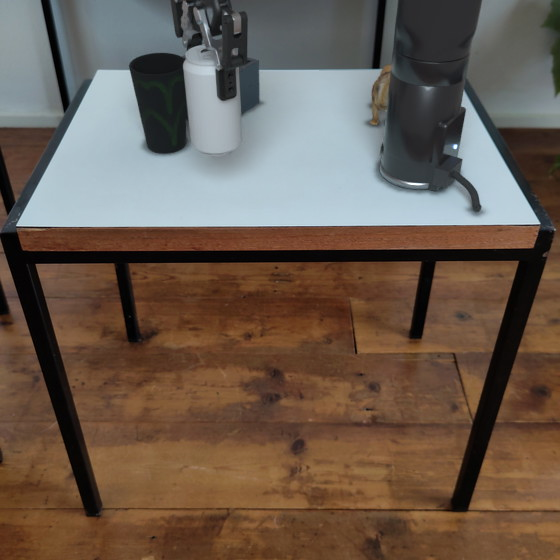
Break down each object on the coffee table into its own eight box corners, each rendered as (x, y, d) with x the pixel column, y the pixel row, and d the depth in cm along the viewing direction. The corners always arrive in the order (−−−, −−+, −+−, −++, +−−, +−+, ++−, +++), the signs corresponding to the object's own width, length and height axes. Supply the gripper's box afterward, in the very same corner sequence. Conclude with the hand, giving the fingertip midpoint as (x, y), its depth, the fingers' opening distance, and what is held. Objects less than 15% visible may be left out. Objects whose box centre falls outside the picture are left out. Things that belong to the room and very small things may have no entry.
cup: (129, 151, 102) (117, 70, 95) (155, 128, 108) (145, 49, 100) (178, 161, 100) (170, 78, 93) (202, 136, 106) (196, 56, 98)
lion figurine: (406, 137, 106) (413, 78, 100) (369, 136, 106) (374, 77, 101) (399, 94, 117) (406, 39, 112) (366, 93, 118) (371, 38, 112)
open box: (259, 103, 115) (259, 60, 110) (217, 128, 108) (215, 84, 104) (207, 86, 119) (204, 45, 115) (164, 110, 113) (159, 67, 108)
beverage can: (245, 134, 92) (241, 42, 85) (239, 160, 87) (233, 63, 80) (196, 133, 93) (187, 41, 85) (186, 158, 88) (176, 62, 80)
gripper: (269, -56, 72) (272, 102, 82) (200, -84, 81) (211, 61, 92) (201, -44, 69) (213, 119, 79) (139, -74, 78) (157, 74, 89)
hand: (212, 87), depth 85 cm, fingers closed on beverage can, 6 cm apart
